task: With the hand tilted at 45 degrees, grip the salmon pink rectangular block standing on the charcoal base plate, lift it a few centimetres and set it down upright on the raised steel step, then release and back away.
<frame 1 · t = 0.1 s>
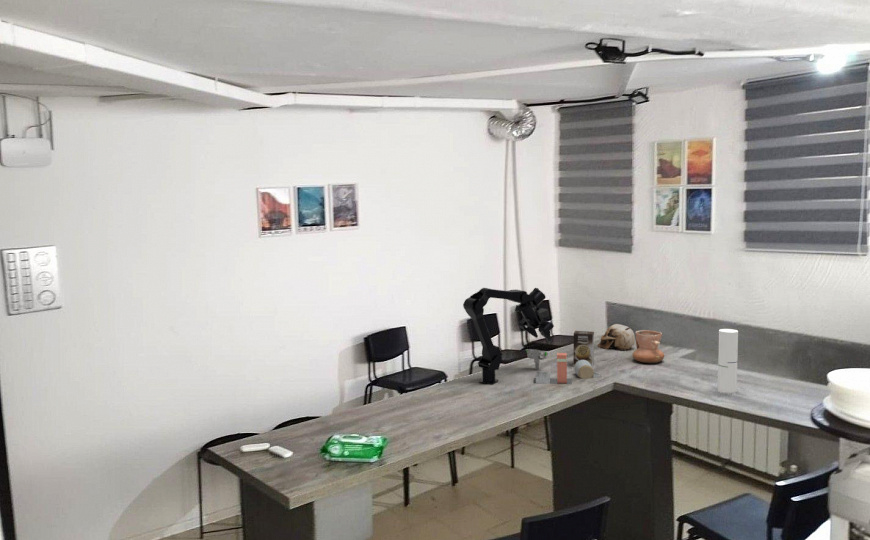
hand: (543, 339, 326), 15 cm above the table, tool tilted 35°, fingers open, 9 cm apart
cylindrical container: (727, 391, 289), on the table
coffee box: (583, 366, 334), on the table
ceramic jug: (647, 361, 339), on the table
ceramic mug: (587, 378, 313), on the table
stand base: (552, 383, 306), on the table
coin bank: (615, 348, 368), on the table
salmon pink rectangular block: (562, 381, 305), point 1 cm above the table, touching stand base
mechanical component: (536, 372, 326), on the table
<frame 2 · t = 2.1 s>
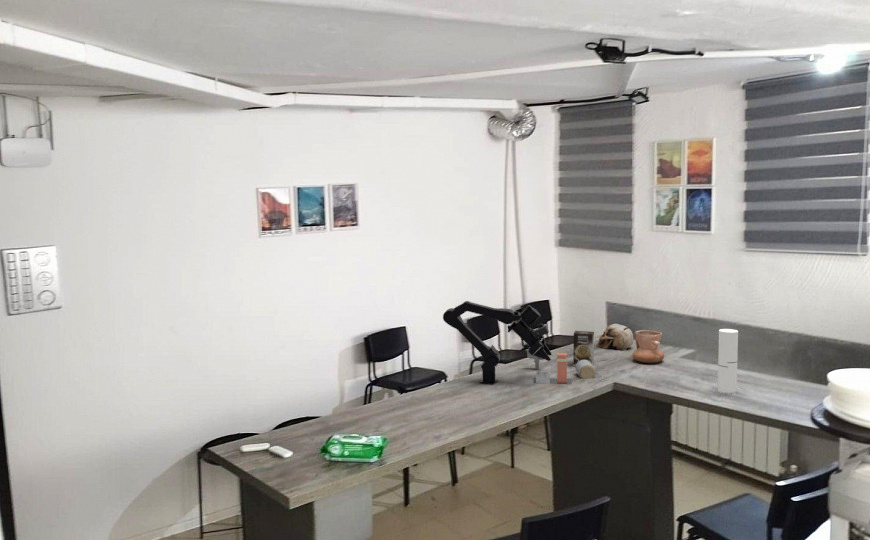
hand: (550, 357, 305), 12 cm above the table, tool tilted 45°, fingers open, 9 cm apart
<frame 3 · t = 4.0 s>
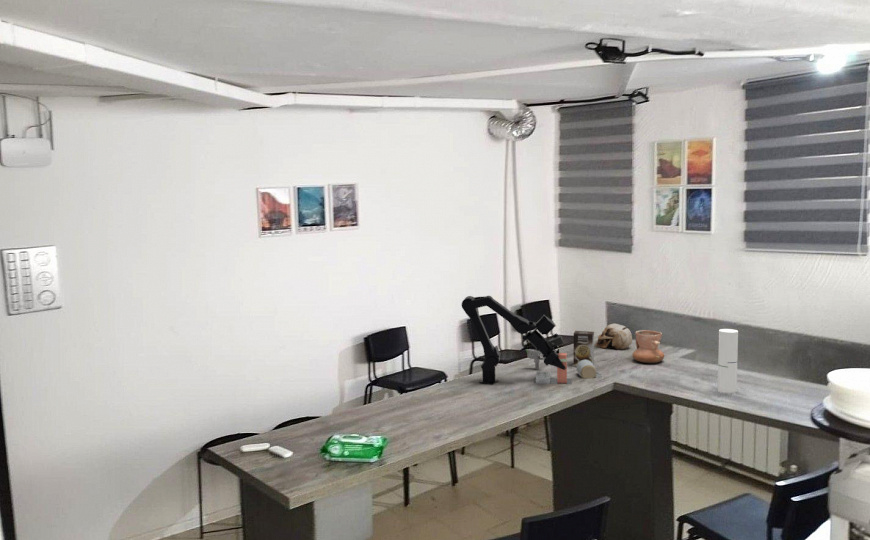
hand: (565, 367, 304), 7 cm above the table, tool tilted 45°, fingers closed on salmon pink rectangular block, 4 cm apart
salmon pink rectangular block: (562, 381, 305), point 1 cm above the table, touching gripper, stand base
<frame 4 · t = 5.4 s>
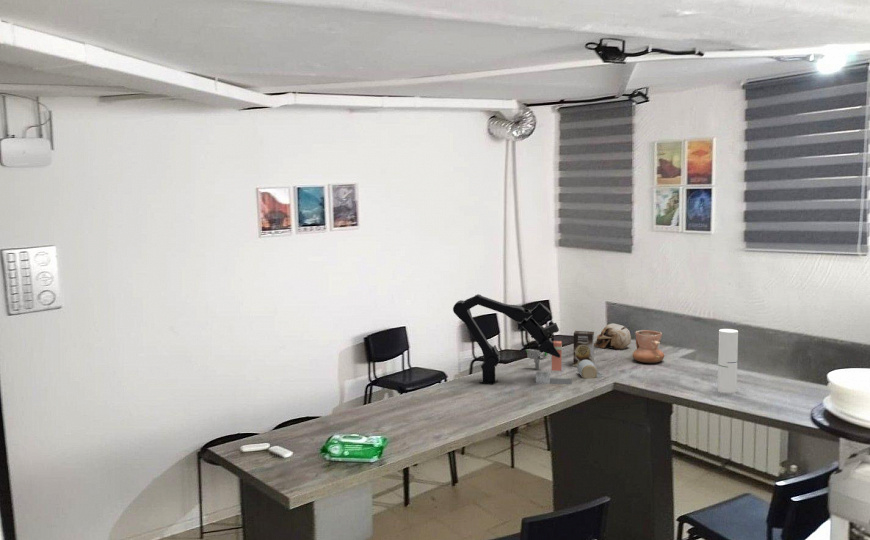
hand: (559, 355, 304), 12 cm above the table, tool tilted 45°, fingers closed on salmon pink rectangular block, 4 cm apart
salmon pink rectangular block: (556, 369, 305), point 6 cm above the table, touching gripper
when the fingers open (11 cm above the table, at t = 6.8 s): salmon pink rectangular block stays where it is, resting on stand base.
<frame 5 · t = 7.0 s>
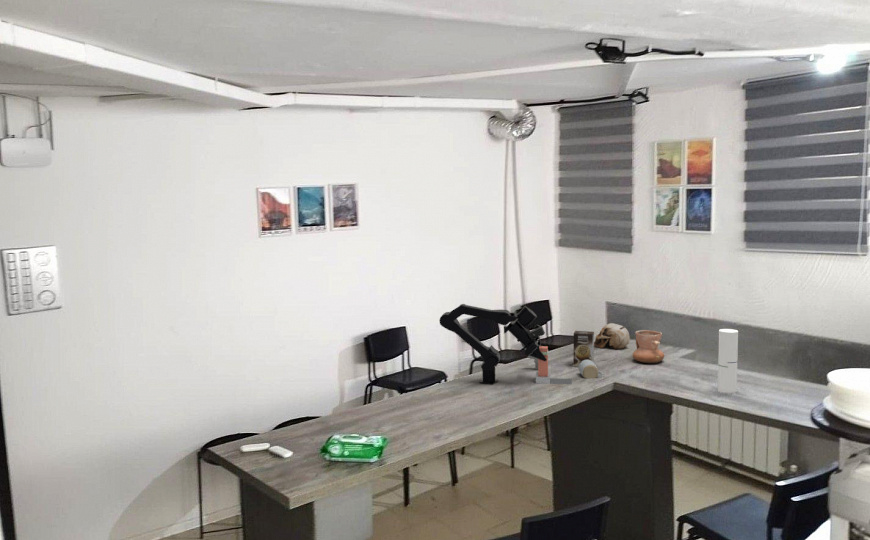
hand: (546, 358, 305), 11 cm above the table, tool tilted 45°, fingers open, 6 cm apart
salmon pink rectangular block: (543, 374, 306), point 4 cm above the table, touching stand base
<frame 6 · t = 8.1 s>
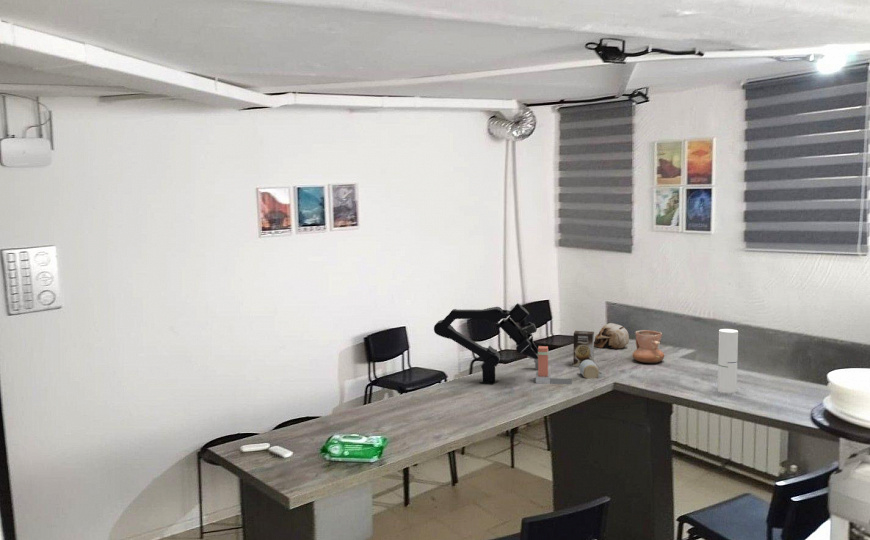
hand: (538, 355, 306), 12 cm above the table, tool tilted 45°, fingers open, 9 cm apart
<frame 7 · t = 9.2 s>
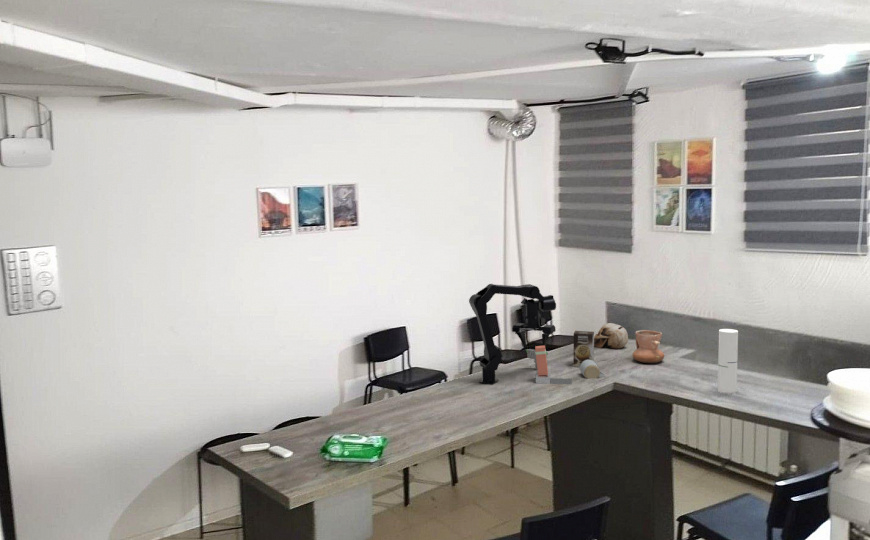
hand: (534, 347, 316), 14 cm above the table, tool pointing down, fingers open, 9 cm apart
salmon pink rectangular block: (543, 374, 306), point 4 cm above the table, tilted 6°, touching stand base
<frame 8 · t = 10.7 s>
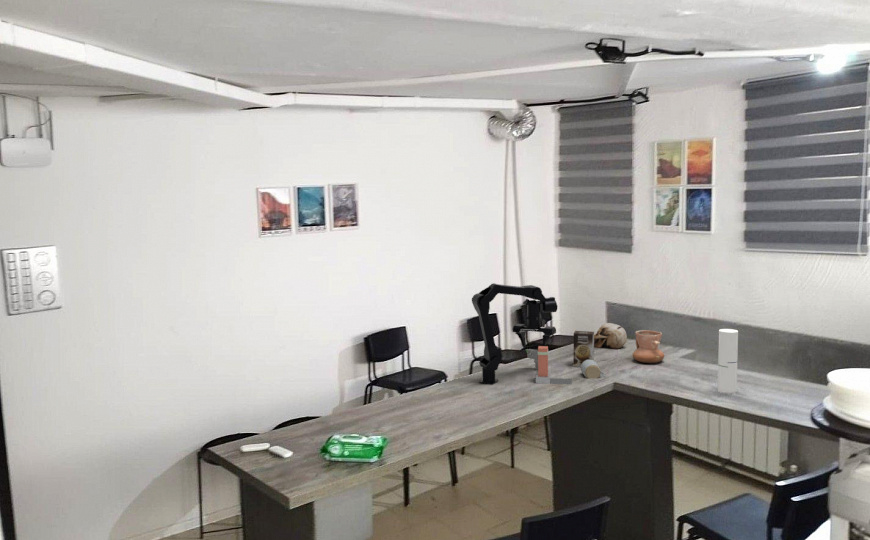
hand: (534, 348, 316), 13 cm above the table, tool pointing down, fingers open, 9 cm apart
salmon pink rectangular block: (543, 374, 306), point 4 cm above the table, touching stand base
at the end: salmon pink rectangular block 0.1 cm from the target spot, point 4.0 cm above the table; salmon pink rectangular block tilted 0°; the gripper is holding nothing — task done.
